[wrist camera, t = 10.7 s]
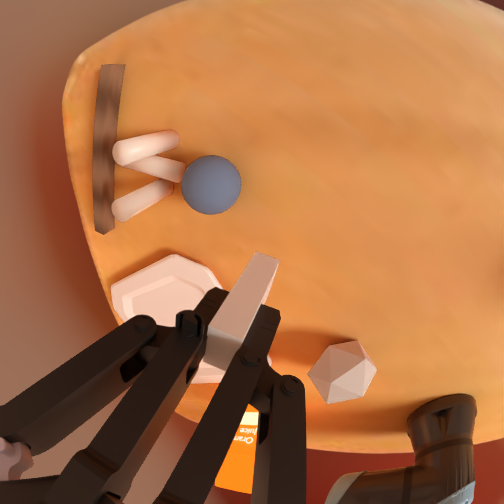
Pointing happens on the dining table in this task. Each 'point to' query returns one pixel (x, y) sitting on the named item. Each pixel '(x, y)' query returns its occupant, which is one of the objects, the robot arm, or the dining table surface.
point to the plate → (167, 297)
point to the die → (342, 372)
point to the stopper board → (105, 144)
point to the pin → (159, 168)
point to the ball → (211, 184)
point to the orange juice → (240, 456)
